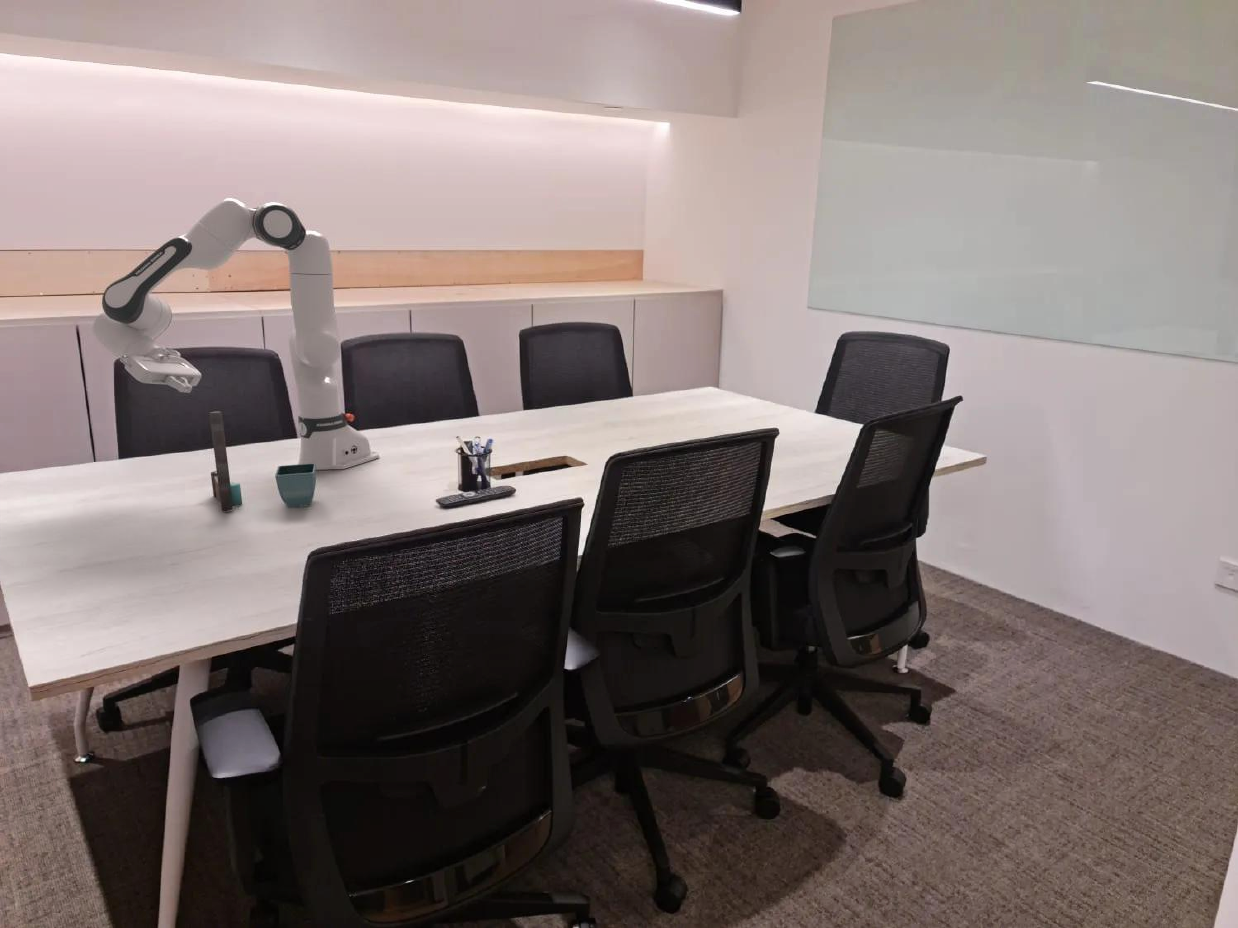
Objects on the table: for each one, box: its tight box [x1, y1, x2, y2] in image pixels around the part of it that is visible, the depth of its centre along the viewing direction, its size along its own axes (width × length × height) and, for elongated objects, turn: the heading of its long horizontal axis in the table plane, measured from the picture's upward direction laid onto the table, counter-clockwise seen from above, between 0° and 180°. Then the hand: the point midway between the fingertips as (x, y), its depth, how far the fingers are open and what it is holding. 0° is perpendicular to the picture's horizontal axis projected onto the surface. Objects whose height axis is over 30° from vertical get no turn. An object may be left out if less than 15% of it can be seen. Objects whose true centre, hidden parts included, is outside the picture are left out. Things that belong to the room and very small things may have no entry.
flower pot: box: [274, 463, 317, 508], centre depth 215 cm, size 9×9×9 cm
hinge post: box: [210, 470, 217, 498], centre depth 222 cm, size 2×2×6 cm
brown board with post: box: [209, 411, 234, 512], centre depth 212 cm, size 15×3×24 cm, turn 31°
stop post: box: [230, 482, 243, 507], centre depth 215 cm, size 3×3×5 cm
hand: (187, 390), depth 221 cm, fingers closed
